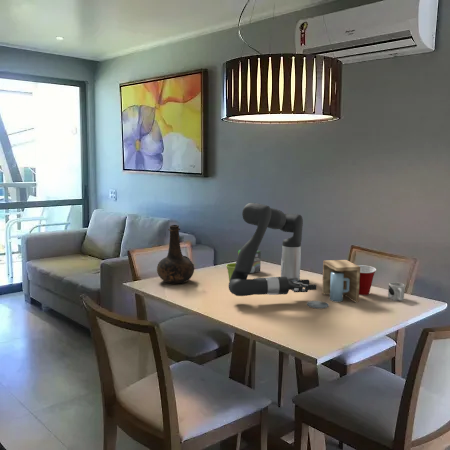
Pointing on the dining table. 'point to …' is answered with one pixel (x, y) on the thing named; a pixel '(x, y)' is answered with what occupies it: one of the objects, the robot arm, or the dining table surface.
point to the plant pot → (230, 269)
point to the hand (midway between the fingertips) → (312, 284)
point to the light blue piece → (338, 286)
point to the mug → (396, 291)
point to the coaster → (317, 304)
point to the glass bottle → (175, 261)
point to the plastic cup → (366, 279)
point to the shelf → (349, 272)
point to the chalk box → (256, 262)
